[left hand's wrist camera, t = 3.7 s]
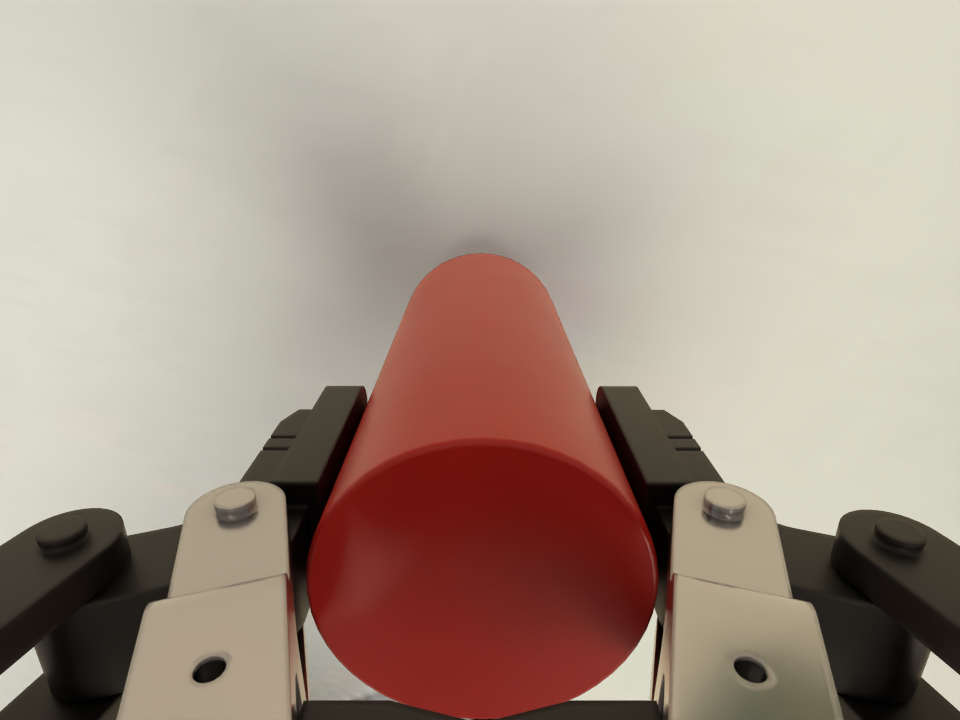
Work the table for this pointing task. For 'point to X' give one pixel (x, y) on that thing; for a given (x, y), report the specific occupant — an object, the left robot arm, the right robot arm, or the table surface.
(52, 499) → the table surface
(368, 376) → the table surface
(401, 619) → the red cylinder
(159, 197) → the table surface
